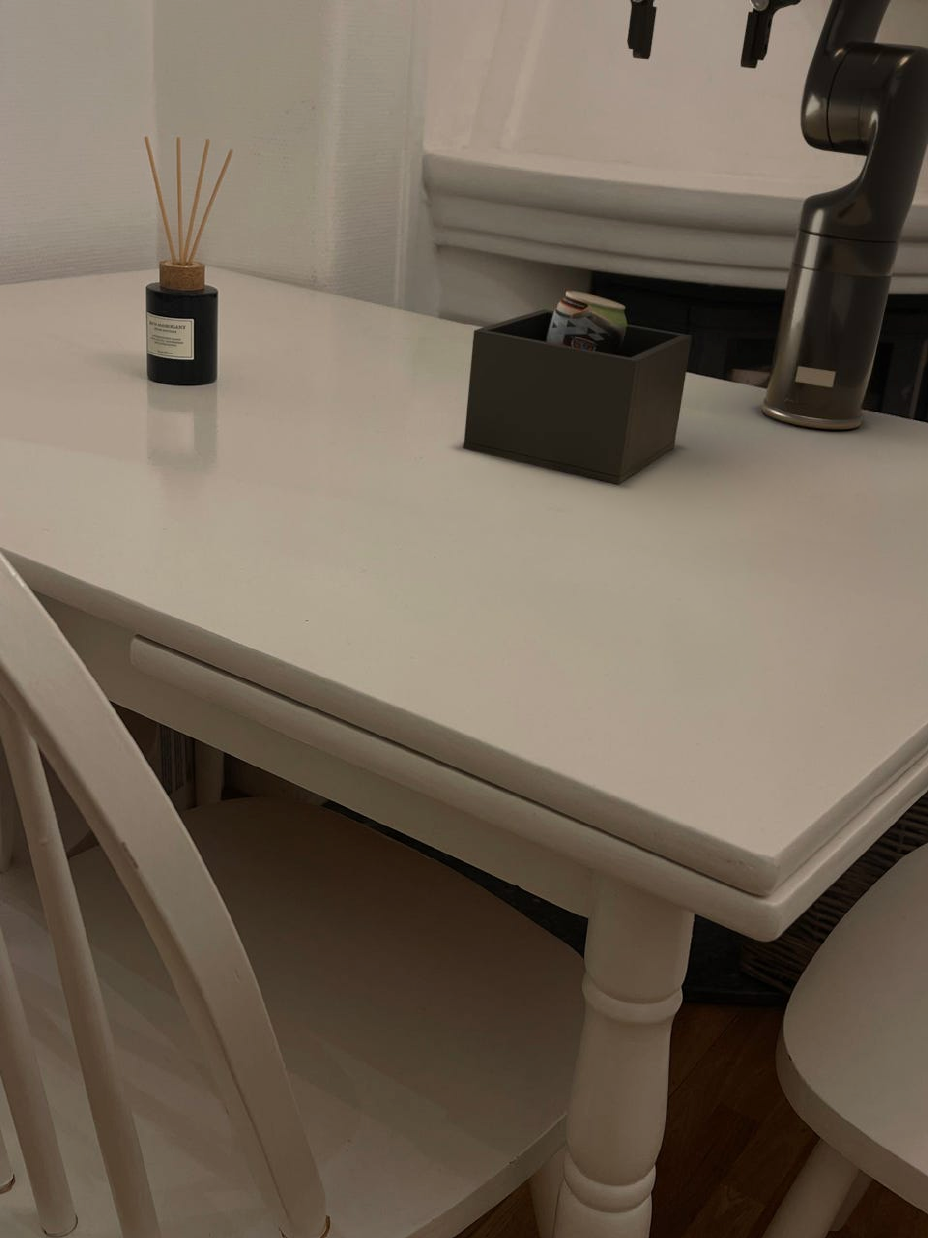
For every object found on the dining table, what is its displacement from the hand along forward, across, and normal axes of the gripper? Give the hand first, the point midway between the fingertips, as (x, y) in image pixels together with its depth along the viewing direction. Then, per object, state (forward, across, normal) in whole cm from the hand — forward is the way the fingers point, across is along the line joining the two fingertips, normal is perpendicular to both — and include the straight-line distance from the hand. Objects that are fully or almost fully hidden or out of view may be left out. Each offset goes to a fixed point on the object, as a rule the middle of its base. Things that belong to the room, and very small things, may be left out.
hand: (693, 62), depth 96 cm
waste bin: (+30, +4, +5) cm, 31 cm away
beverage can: (+30, +4, +5) cm, 30 cm away
